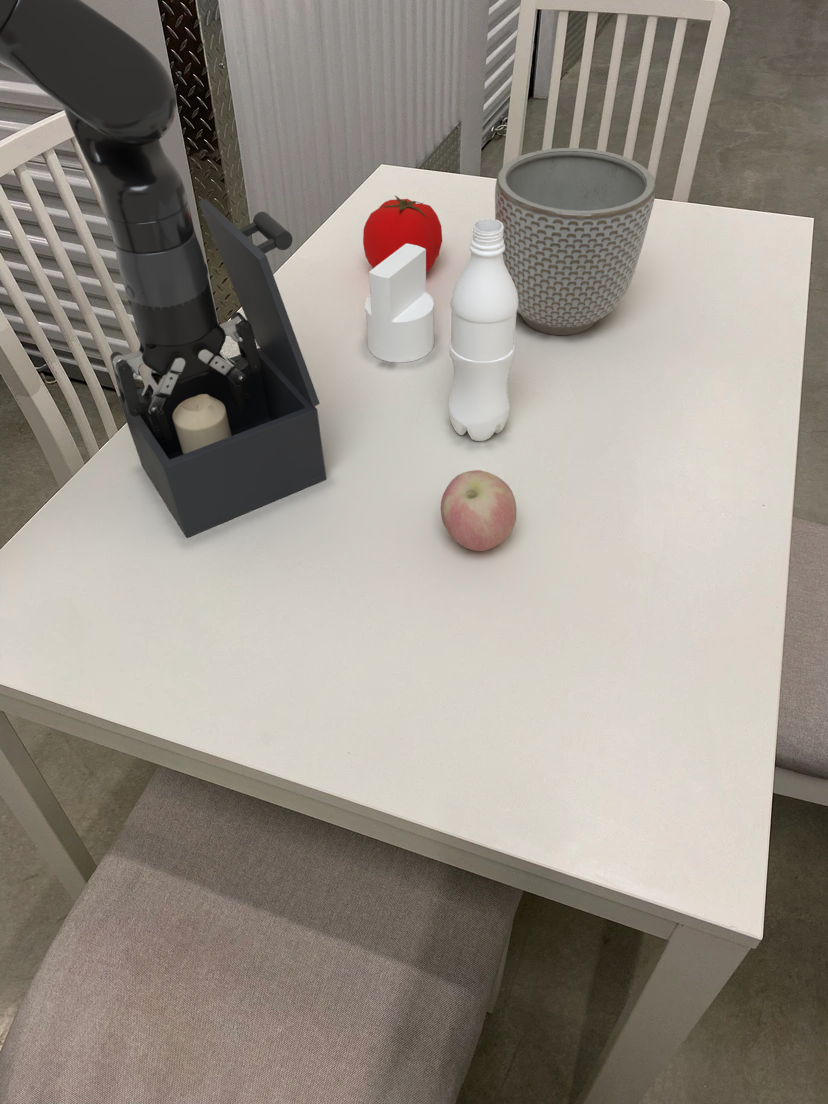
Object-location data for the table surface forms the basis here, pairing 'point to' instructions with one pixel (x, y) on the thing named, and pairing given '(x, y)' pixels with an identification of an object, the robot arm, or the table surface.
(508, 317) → the water bottle
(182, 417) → the candle
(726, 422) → the table surface
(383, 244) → the tomato
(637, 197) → the planter
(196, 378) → the dark grey open box
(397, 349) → the base with upright slab
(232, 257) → the dark grey box lid
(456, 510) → the apple
